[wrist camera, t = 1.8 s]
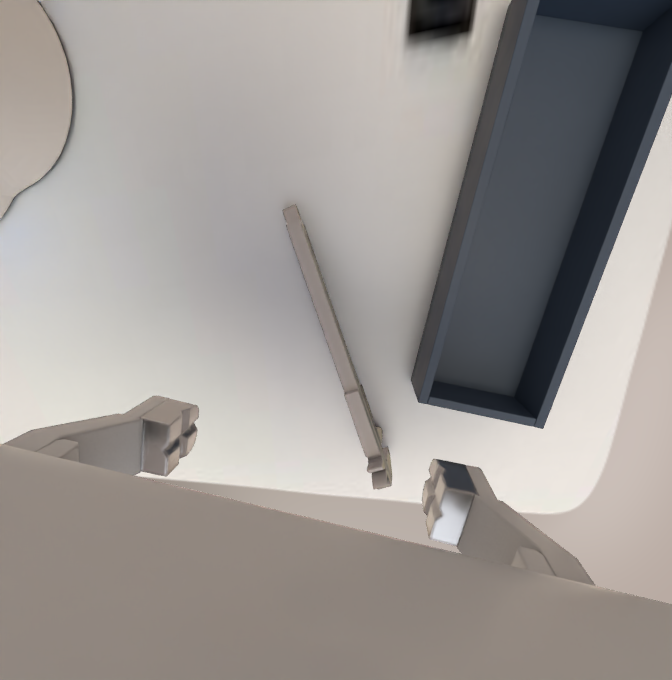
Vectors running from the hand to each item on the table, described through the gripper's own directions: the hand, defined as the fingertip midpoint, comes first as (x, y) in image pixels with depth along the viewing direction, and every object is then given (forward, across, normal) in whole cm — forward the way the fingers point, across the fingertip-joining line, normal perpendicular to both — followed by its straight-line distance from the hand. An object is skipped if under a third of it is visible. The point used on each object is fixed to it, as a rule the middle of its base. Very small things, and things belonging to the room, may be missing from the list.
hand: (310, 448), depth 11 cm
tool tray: (+15, -10, -10) cm, 21 cm away
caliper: (+15, 0, 0) cm, 15 cm away
